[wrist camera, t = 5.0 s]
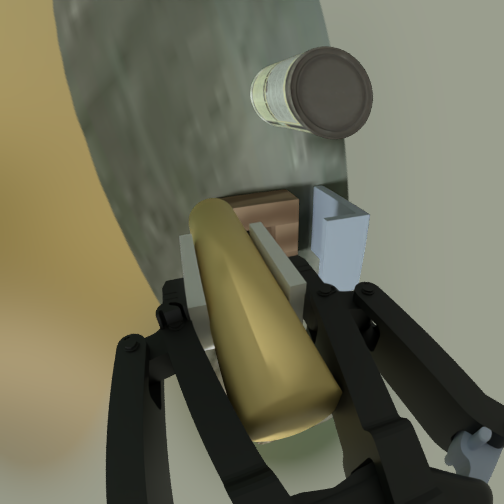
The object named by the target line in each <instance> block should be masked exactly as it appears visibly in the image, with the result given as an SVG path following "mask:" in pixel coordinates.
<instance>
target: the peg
mask: <svg viewBox="0 0 504 504" xmlns="http://www.w3.org/2000/svg"><path fill="white" fill-rule="evenodd" d="M189 227H190V233H191V234H192V238H193V244H194V249H195V254H196V259H197V264H198V269H199V274H200V278H201V283H202V288H203V292H204V297H205V301H206V306H207V311H208V316H209V320H210V330H211V335H212V339H213V343H214V347H215V351H216V355H217V359H218V363H219V367H220V371H221V375H222V378H223V382H224V386H225V390H226V393H227V397H228V399H229V401H230V403H231V405H232V406H233V408H234V410H235V412H236V414H237V416H238V417H239V419H240V421H241V423H242V425H243V426H244V428H245V430H246V432H247V433H248V435H249V437H250V439H251V440H252V441H255V442H262V441H272V440H277V439H282V438H285V437H289V436H292V435H295V434H297V433H300V432H302V431H304V430H306V429H308V428H310V427H312V426H314V425H316V424H318V423H319V422H321V421H322V420H324V419H325V418H326V417H328V416H329V415H330V414H331V413H332V412H333V411H334V410H335V409H336V406H337V404H338V402H339V399H340V397H341V395H342V390H341V389H340V387H339V385H338V384H337V382H336V380H335V378H334V377H333V375H332V373H331V372H330V370H329V368H328V367H327V365H326V363H325V362H324V360H323V358H322V357H321V355H320V353H319V351H318V350H317V348H316V346H315V345H314V343H313V341H312V340H311V338H310V336H309V335H308V333H307V331H306V330H305V328H304V326H303V325H302V323H301V321H300V320H299V318H298V316H297V315H296V313H295V311H294V310H293V308H292V306H291V305H290V303H289V301H288V300H287V298H286V296H285V295H284V293H283V291H282V290H281V288H280V286H279V285H278V283H277V281H276V280H275V278H274V276H273V275H272V273H271V271H270V270H269V268H268V266H267V265H266V263H265V261H264V260H263V258H262V256H261V255H260V253H259V251H258V250H257V248H256V246H255V245H254V243H253V241H252V240H251V238H250V236H249V235H248V233H247V231H246V230H245V228H244V226H243V225H242V223H241V222H240V220H239V218H238V217H237V215H236V213H235V212H234V210H233V208H232V207H231V206H230V204H228V203H227V202H226V201H224V200H222V199H218V198H209V199H206V200H203V201H201V202H199V203H198V204H197V205H196V206H195V207H194V208H193V209H192V211H191V213H190V216H189Z"/></svg>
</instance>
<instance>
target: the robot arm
mask: <svg viewBox="0 0 504 504" xmlns="http://www.w3.org/2000/svg"><path fill="white" fill-rule="evenodd" d="M249 231H250V238H251V240H252V241H253V243H254V245H255V246H256V248H257V250H258V251H259V253H260V255H261V256H262V258H263V260H264V261H265V263H266V265H267V266H268V268H269V270H270V271H271V273H272V275H273V276H274V278H275V280H276V281H277V283H278V285H279V286H280V288H281V290H282V291H283V293H284V295H285V296H286V298H287V300H288V301H289V303H290V305H291V306H292V308H293V310H294V311H295V313H296V315H297V316H298V318H299V320H300V321H301V323H302V325H303V319H304V320H305V322H306V324H307V329H306V331H307V333H308V335H309V336H310V338H311V340H312V341H313V343H314V345H315V346H316V348H317V350H318V351H319V353H320V355H321V357H322V358H323V360H324V362H325V363H326V365H327V367H328V368H329V370H330V372H331V373H332V375H333V377H334V378H335V380H336V382H337V384H338V385H339V387H340V389H341V390H342V395H341V397H340V399H339V402H338V404H337V406H336V409H335V410H334V411H333V412H332V415H333V419H334V422H335V426H336V429H337V432H338V436H339V439H340V443H341V446H342V449H343V468H344V472H345V476H346V479H345V480H344V481H342V482H341V483H340V484H338V485H337V486H336V487H334V488H330V489H324V490H317V491H310V492H303V493H299V494H296V495H293V496H290V495H289V494H288V493H287V491H286V490H285V488H284V487H283V485H282V484H281V482H280V481H279V479H278V478H277V476H276V475H275V474H274V473H273V471H272V470H271V469H270V468H269V467H268V466H267V465H266V463H265V462H264V460H263V459H262V457H261V455H260V454H259V452H258V450H257V449H256V447H255V445H254V444H253V442H252V440H251V439H250V437H249V435H248V433H247V432H246V430H245V428H244V426H243V425H242V423H241V421H240V419H239V417H238V416H237V414H236V412H235V410H234V408H233V406H232V405H231V403H230V401H229V399H228V397H227V395H226V393H225V391H224V389H223V387H222V386H221V384H220V382H219V380H218V378H217V376H216V374H215V372H214V370H213V368H212V366H211V363H210V361H209V359H208V357H207V355H206V353H205V351H204V350H209V349H214V348H215V347H214V343H213V339H212V335H211V330H210V320H209V316H208V311H207V306H206V301H205V297H204V292H203V288H202V283H201V278H200V274H199V269H198V264H197V259H196V254H195V249H194V244H193V238H192V234H187V235H182V236H179V239H180V249H181V259H182V268H183V277H184V278H180V279H174V280H169V281H166V282H165V284H164V286H163V288H162V291H163V304H161V305H160V306H159V307H158V308H157V310H156V318H157V320H158V323H159V326H160V329H159V330H158V331H157V332H156V333H154V334H153V335H151V336H148V337H146V338H144V337H143V336H141V335H139V334H130V335H127V336H125V337H123V338H122V339H121V340H120V341H119V343H118V345H117V349H116V355H115V362H114V369H113V376H112V384H111V392H110V402H109V412H108V425H107V445H106V497H107V504H174V503H173V496H172V489H171V482H170V473H169V463H168V451H167V439H166V423H165V402H164V401H165V400H164V379H166V378H168V377H170V376H172V375H174V374H176V377H177V379H178V382H179V385H180V388H181V390H182V393H183V396H184V398H185V400H186V403H187V406H188V408H189V411H190V413H191V416H192V418H193V420H194V423H195V425H196V427H197V430H198V432H199V434H200V437H201V439H202V441H203V443H204V445H205V448H206V450H207V452H208V454H209V456H210V458H211V460H212V462H213V464H214V466H215V468H216V470H217V472H218V474H219V476H220V478H221V480H222V482H223V484H224V487H225V489H226V491H227V493H228V495H229V497H230V499H231V501H232V503H233V504H493V495H492V491H491V489H490V487H489V486H488V484H487V483H488V481H489V479H490V477H491V475H492V473H493V471H494V468H495V466H496V464H497V461H498V459H499V456H500V454H501V451H502V449H503V448H504V405H502V404H501V403H499V402H497V401H495V400H494V399H492V398H490V397H488V396H487V395H485V394H484V393H483V391H482V390H481V389H480V388H479V387H478V386H477V385H476V384H475V382H473V380H472V379H471V378H470V377H469V376H468V375H467V374H466V373H465V372H464V370H463V369H461V367H460V366H458V364H457V363H456V362H455V361H454V360H453V359H452V358H451V357H450V356H449V355H448V354H447V353H446V352H445V351H444V350H443V349H442V347H440V345H438V343H437V342H435V340H434V339H433V338H432V337H431V336H429V334H428V333H426V331H425V330H423V328H422V327H420V326H419V325H418V324H417V323H416V322H415V321H414V320H413V319H412V318H411V317H410V316H409V315H408V314H407V313H406V312H405V311H404V310H403V309H402V308H401V307H400V306H398V305H397V304H396V303H395V302H394V301H393V300H392V299H391V298H390V297H389V296H388V295H387V294H386V293H384V292H383V291H382V290H381V289H380V288H379V287H378V286H376V285H375V284H373V283H370V282H361V283H358V284H356V286H355V288H354V291H339V290H338V289H337V288H336V287H335V286H333V285H331V284H328V283H324V282H323V281H322V279H321V278H320V277H319V276H318V275H317V273H316V272H315V271H314V270H313V268H312V267H311V266H310V265H309V264H308V262H307V261H306V260H305V259H304V258H302V257H300V256H298V255H294V256H290V257H287V256H286V254H285V253H284V252H283V250H282V249H281V248H280V246H279V245H278V244H277V242H276V241H275V240H274V238H273V237H272V236H271V234H270V233H269V232H268V230H267V229H266V228H265V227H264V225H263V224H262V223H261V222H257V223H251V224H249ZM372 321H373V322H374V323H375V324H376V325H375V324H374V323H373V322H372ZM380 374H381V375H382V376H383V378H384V379H385V380H386V381H387V383H388V384H389V385H390V386H391V388H392V389H393V390H394V391H395V392H396V394H397V395H398V396H399V398H400V399H401V400H402V402H403V403H404V404H405V405H406V407H407V408H408V409H409V411H410V412H411V413H412V414H413V416H414V417H415V418H416V420H417V421H418V422H419V423H420V425H421V426H422V427H423V429H424V430H425V431H426V432H427V434H428V435H429V436H430V437H431V438H432V440H433V441H434V442H435V443H436V444H437V445H438V446H440V447H441V448H442V449H443V450H445V451H446V452H448V453H447V455H446V456H445V463H446V464H447V465H448V466H451V465H453V466H454V468H455V470H456V474H454V473H450V472H447V471H443V470H439V469H436V468H432V467H429V465H428V463H427V460H426V457H425V454H424V452H423V449H422V447H421V444H420V442H419V440H418V437H417V435H416V432H415V430H414V428H413V425H412V424H411V422H410V421H409V420H408V419H407V418H401V417H400V416H399V415H398V413H397V410H396V408H395V406H394V403H393V402H392V399H391V397H390V394H389V392H388V390H387V388H386V386H385V383H384V381H383V379H382V377H381V375H380Z"/></svg>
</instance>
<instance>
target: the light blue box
mask: <svg viewBox="0 0 504 504" xmlns="http://www.w3.org/2000/svg"><path fill="white" fill-rule="evenodd" d="M369 217H370V214H368V213H367V212H365V211H364V210H362V209H360V208H359V207H357V206H356V205H354V204H352V203H351V202H349V201H348V200H346V199H344V198H343V197H341V196H339V195H338V194H336V193H334V192H333V191H331V190H329V189H328V188H326V187H324V186H323V185H320V186H314V196H313V221H312V240H311V250H312V251H313V252H314V253H315V254H316V255H317V257H318V258H319V259H320V264H319V275H318V276H319V277H320V278H321V279H322V281H323V282H324V283H328V284H331V285H333V286H335V287H336V288H337V289H338V290H339V291H351V290H354V288H355V286H356V284H358V283H359V278H360V273H361V268H362V262H363V257H364V250H365V245H366V239H367V232H368V226H369Z"/></svg>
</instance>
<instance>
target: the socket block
mask: <svg viewBox="0 0 504 504" xmlns="http://www.w3.org/2000/svg"><path fill="white" fill-rule="evenodd" d="M218 199H222V200H224V201H226V202H227V203H228V204H230V206H231V207H232V208H233V210H234V212H235V213H236V215H237V217H238V218H239V220H240V222H241V223H242V225H243V226H244V228H245V230H246V231H248V230H249V224H251V223H257V222H261V223H262V224H263V225H264V227H265V228H266V229H267V230H268V232H269V233H270V234H271V236H272V237H273V238H274V240H275V241H276V242H277V244H278V245H279V246H280V248H281V249H282V250H283V252H284V253H285V254H286V256H287V257H290V256H294V255H298V225H299V199H298V198H297V197H295V196H294V195H293V194H292V193H290V192H289V191H288V190H286V189H283V190H275V191H267V192H259V193H252V194H245V195H238V196H231V197H224V198H218Z"/></svg>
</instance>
